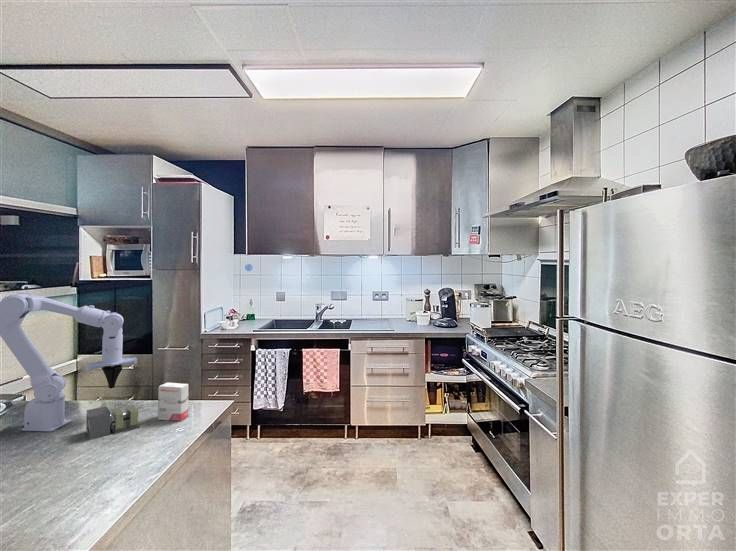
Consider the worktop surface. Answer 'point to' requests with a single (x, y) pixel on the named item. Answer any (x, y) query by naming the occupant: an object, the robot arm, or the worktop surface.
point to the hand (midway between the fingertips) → (111, 387)
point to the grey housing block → (98, 422)
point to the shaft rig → (123, 420)
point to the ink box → (173, 401)
